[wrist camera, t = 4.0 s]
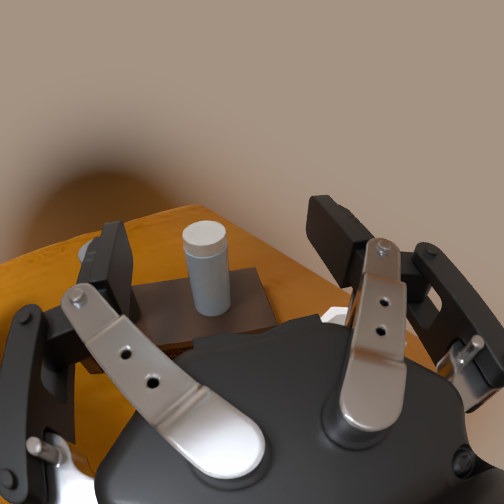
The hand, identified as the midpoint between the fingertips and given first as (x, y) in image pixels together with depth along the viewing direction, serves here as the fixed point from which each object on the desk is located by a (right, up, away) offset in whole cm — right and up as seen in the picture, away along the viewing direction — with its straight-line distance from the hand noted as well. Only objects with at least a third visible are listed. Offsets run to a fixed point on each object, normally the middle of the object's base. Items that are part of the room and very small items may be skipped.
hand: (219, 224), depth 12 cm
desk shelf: (-9, -12, +24) cm, 28 cm away
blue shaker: (-3, -7, +22) cm, 23 cm away
